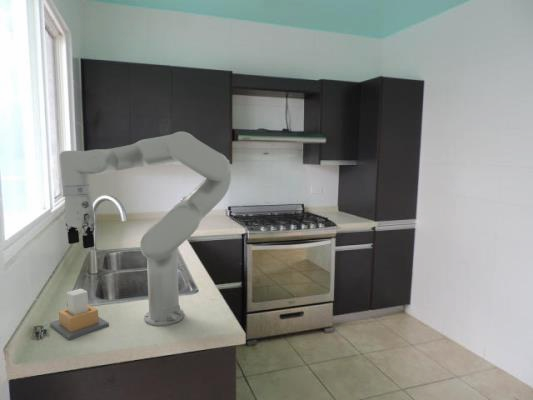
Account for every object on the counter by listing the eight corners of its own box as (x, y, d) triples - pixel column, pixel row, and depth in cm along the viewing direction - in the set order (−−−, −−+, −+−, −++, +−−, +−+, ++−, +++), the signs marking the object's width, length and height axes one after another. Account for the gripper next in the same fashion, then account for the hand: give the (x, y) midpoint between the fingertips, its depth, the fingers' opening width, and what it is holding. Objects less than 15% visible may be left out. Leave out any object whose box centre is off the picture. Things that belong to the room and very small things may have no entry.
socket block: (108, 325, 119) (107, 310, 119) (68, 340, 110) (67, 323, 110) (88, 313, 128) (87, 299, 128) (50, 325, 119) (48, 310, 119)
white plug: (89, 322, 119) (87, 291, 118) (75, 327, 116) (72, 295, 115) (83, 318, 122) (81, 288, 121) (68, 322, 119) (66, 292, 118)
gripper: (102, 191, 114) (107, 246, 117) (75, 188, 125) (80, 239, 127) (77, 193, 109) (82, 252, 111) (51, 190, 119) (56, 243, 122)
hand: (81, 245), depth 119 cm, fingers open, 9 cm apart
